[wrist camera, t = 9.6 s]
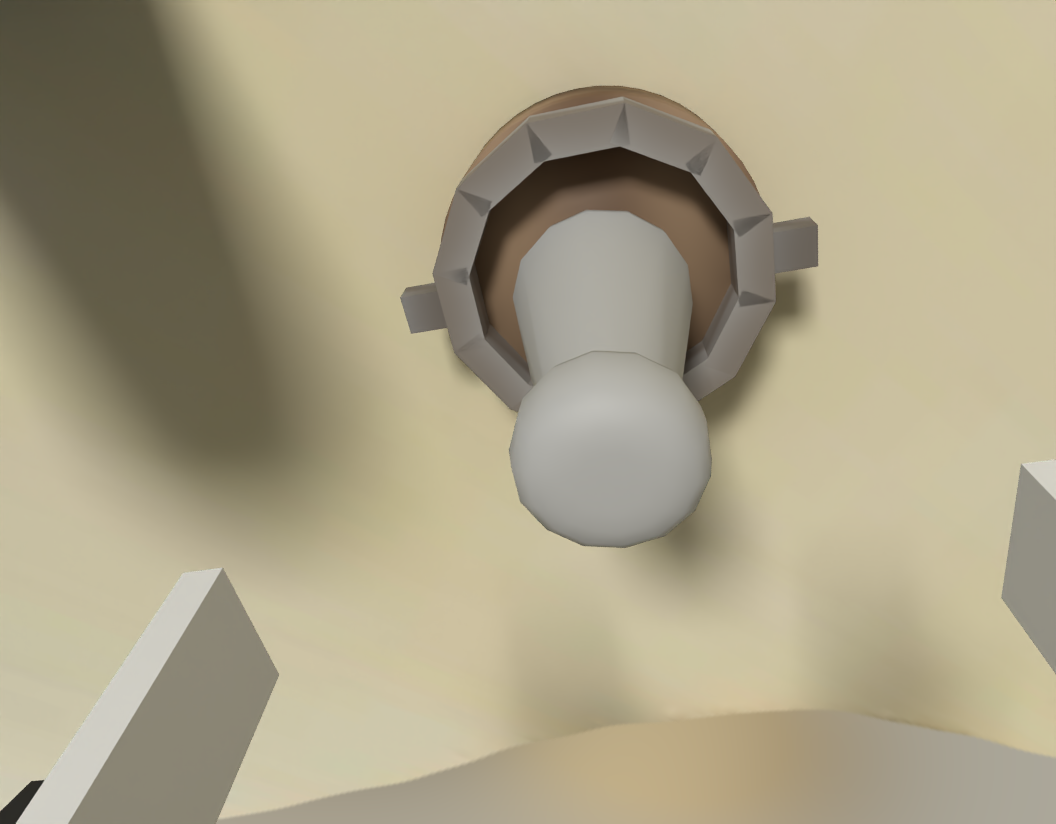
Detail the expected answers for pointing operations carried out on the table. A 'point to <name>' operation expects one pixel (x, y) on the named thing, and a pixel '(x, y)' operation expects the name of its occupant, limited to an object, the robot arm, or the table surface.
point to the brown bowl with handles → (617, 185)
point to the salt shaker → (607, 383)
